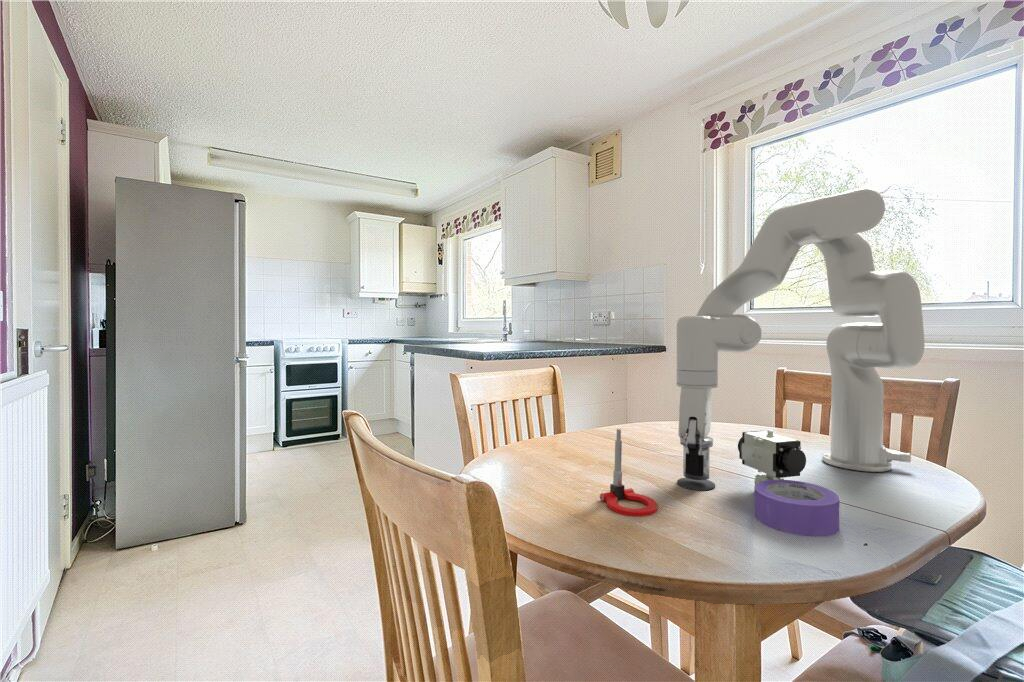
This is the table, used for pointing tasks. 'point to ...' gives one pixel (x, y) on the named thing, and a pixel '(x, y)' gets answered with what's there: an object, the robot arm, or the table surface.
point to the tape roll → (797, 507)
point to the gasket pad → (696, 484)
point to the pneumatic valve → (771, 455)
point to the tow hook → (620, 493)
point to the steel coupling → (705, 451)
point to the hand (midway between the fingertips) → (696, 470)
